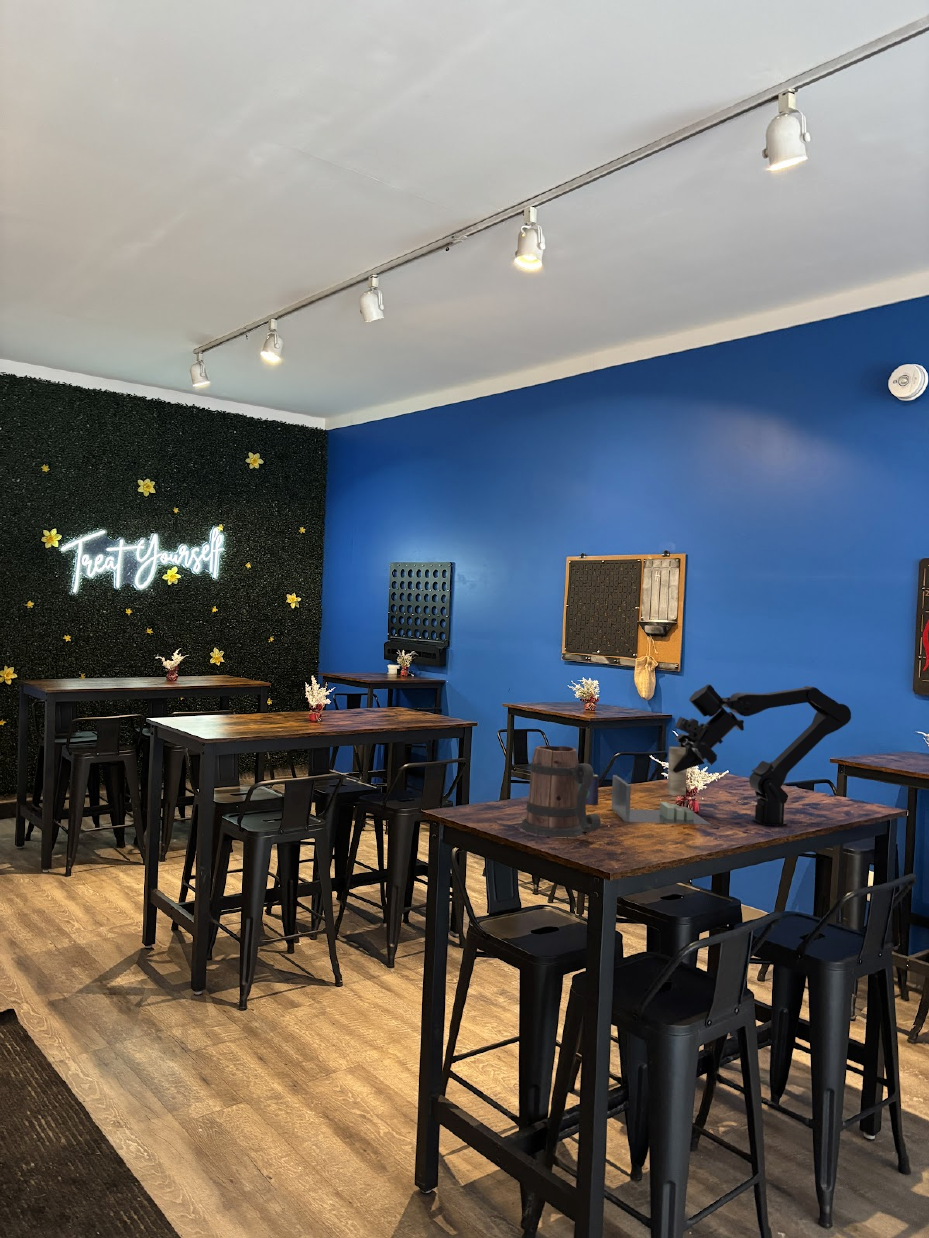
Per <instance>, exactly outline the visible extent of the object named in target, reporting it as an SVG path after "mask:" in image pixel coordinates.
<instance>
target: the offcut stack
mask: <svg viewBox="0 0 929 1238" xmlns="http://www.w3.org/2000/svg"><path fill="white" fill-rule="evenodd" d="M659 810H660V814H661V815H662V816H663V817H665V818H666V819H674V818H676V819H677V820H684V818H685V819H686V820H694V813H695V811H693V810H692V809H690V808H688V807H687V806H679V805H678V804H670V803H669V802H666V801H665V802H664V801H660V802H659Z"/></svg>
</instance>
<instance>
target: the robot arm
mask: <svg viewBox="0 0 929 1238" xmlns="http://www.w3.org/2000/svg"><path fill="white" fill-rule="evenodd" d="M688 701H689V702H690V703H691V704H692V705H693V707H695V709H696V710H697V711H698V712H699V713H700V714H701V715H702V716H703V718H704V717H709V718H710V719H708V721H706V723H702V722H701V723H699V720H697V719H695V718H690V719H687V718H685V717H682V716H679V718H678V719H677V721H676V723H675V726H674V728H675V729H678V730H680V731H682V732H685V733H679V734H678V735H677V736H676V737H674V738H675V740H676V742H677V743H678V747H685V748H686V753H685V755H684V756H683V757H682V758H681V760H680V761H679V762H678V763H677V765H676V766H675V767H674V769H673V771H674V772H675V773H677V772H680V771H683V770H686V769H687V770H689V769H690V768H694V767H697V766H700V765H705V761H704V760H706V763H707V764H708V765H710V766H712V765H714V763H715V762H716V761H717V759H718V755H717V753H716V752H715V751H714V750H713V749H714V747H715V746H717V745H718V744H719V745H721V744H722V743H723V742H724V740H723V739H724V738H725V737H726V736H727V735H728V734H729V733H730V732H731V731H732V730H733V729H736V730H739V731H741V732H743V731H745V729H744V727H745V726H744V723H745V720H744V719H738V717H737V716H736V715H739V716H743V717H751V716H753V715H756V714H759V713H762V712H763V711H765V710H769V709H772V708H773V709H774V708H780V707H785V706H793V705H798V704H806V703H807V704H808V705H809V706H810V707H811V708H812V709H813V710H814V711H816V712H815V714H814V717H813V720H812V721H811V724H809V726H808V727H807V728H806V729H804V731H803V732H802V733H801V734H799V735H798V737H797V738H796V739H795V740H794V741H792V743H790V745H788V746H787V748H785V749H784V750H783V752H781V753H780V754H779V755H778V756H777V757H776V758H774V760H773V761H771V762H767V761H764V760H761V761H760V762H759V763H758V765H757V766H756V767H755V768H754V769H752V770H751V772H752V773H751V774H750V775H749V785H750V786H749V787H751V789H752V790H753V791H754V793H755V796H756V797H758V798H757V799H756V804H755V810H754V811H755V812H754V813H755V814H754V818H752V821H753V822H756V823H758V824H761V825H764V826H766V825H778V826H788V823H787V822H785V821H784V820H785V819H784V818H785V804H786V803H787V801H788V799H789V795H788V793H787V792H786V791H785V790H784V789H783V788H782V786H783V785H784V784H785V781H786V778H787V776H788V774H789V772H791V770H793V768H795V766H796V765H798V764H799V762H801V760H802V759H804V757H806V755H808V754H809V753H810V752H811V751H812V750H813V749H814V748H815V747H816V746H817V745H818V744H819V743H820V742H821V741H822V740H823V739H825V737H826V736H828V735H830V734H833V733H834V732H837V731H838V730H840V729H841V728H843V727H845V726H846V725H848V724H849V723H850V721H851V720H852V712H851V709H850V708H849V706H848V705H846V704H845V703H839V702H838V701H836V700H834V698H831V697H830V696H829V695H826V694H825V693H823V692H822V691H821V690H820V689H819V688H817V687H815V686H809V685H807V686H803V687H798V688H793V689H786V690H777V691H772V692H766V693H757V692H756V693H755V692H753V693H752V692H735V693H733V694H731V696H729V697H721V696H720V695H719V694H718V692H717V691H716V690H715V688H714V687H713V686H712V685H711V684H709V683H708V684H706V685H705V686H703V687H701V688H700V689H698V690H696V691H695V692H694V693H693V694H692V695H691V696H690V697H689V699H688ZM725 708H727V709H729V710H730V711H729V712H728V711H727V710H726V709H725Z"/></svg>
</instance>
